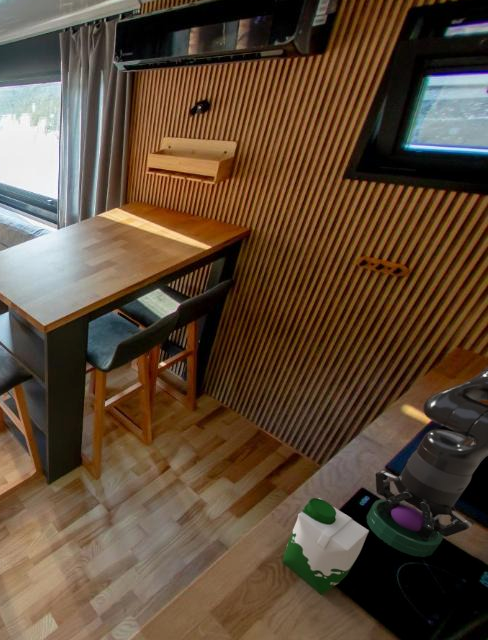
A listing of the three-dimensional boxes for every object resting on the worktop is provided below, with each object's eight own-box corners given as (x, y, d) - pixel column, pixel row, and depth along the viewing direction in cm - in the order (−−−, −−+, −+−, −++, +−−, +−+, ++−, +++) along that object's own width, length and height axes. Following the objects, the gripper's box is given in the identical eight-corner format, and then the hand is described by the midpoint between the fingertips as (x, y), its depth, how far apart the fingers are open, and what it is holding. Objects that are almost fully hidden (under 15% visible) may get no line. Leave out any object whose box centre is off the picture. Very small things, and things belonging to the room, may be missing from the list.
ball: (396, 509, 85) (404, 496, 82) (427, 530, 80) (436, 516, 78) (382, 518, 84) (389, 505, 81) (413, 539, 79) (422, 526, 77)
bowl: (381, 506, 89) (389, 492, 87) (443, 547, 80) (454, 533, 78) (354, 523, 87) (361, 509, 85) (415, 567, 78) (425, 553, 76)
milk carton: (297, 540, 86) (320, 487, 77) (348, 580, 78) (379, 526, 70) (274, 560, 83) (295, 507, 75) (324, 603, 75) (354, 549, 67)
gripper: (503, 497, 69) (464, 547, 76) (398, 442, 82) (373, 489, 89) (479, 514, 67) (442, 563, 75) (376, 454, 80) (353, 501, 87)
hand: (405, 523), depth 82 cm, fingers closed on ball, 4 cm apart
